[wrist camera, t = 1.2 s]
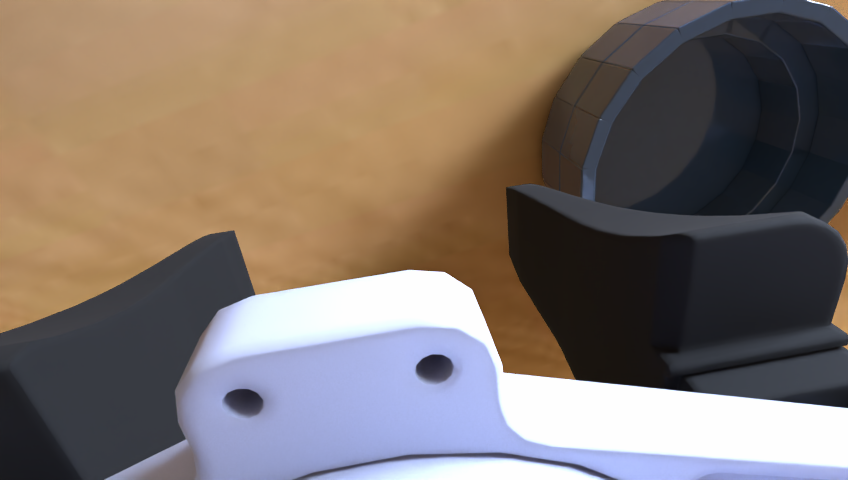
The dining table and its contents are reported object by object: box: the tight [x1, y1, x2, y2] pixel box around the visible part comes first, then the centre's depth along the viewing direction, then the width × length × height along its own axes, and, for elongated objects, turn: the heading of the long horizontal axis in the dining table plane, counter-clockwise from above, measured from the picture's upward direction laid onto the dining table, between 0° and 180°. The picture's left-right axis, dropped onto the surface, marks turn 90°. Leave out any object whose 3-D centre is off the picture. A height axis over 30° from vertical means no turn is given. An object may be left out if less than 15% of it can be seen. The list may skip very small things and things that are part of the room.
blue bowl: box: [542, 0, 848, 224], centre depth 21 cm, size 12×12×5 cm
